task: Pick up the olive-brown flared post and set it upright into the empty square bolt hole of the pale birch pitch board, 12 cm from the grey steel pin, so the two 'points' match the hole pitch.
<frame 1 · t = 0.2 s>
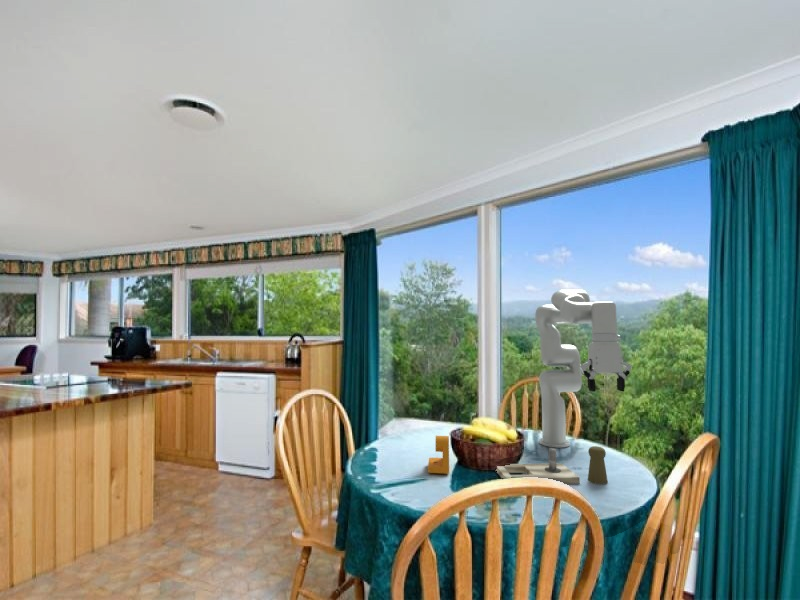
hand: (606, 390, 141), 30 cm above the table, tool pointing down, fingers open, 9 cm apart
pitch board: (535, 476, 146), on the table
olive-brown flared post: (597, 481, 142), on the table
bracket: (438, 470, 152), on the table
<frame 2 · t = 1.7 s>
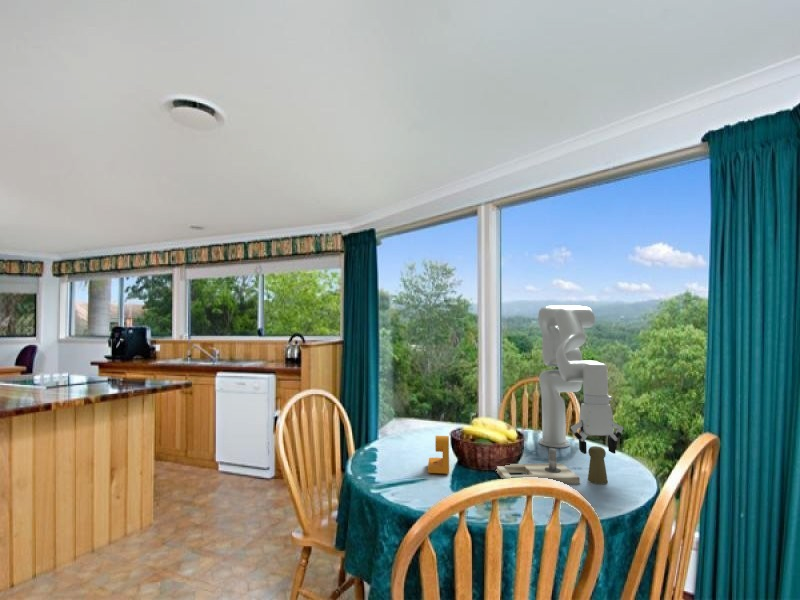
hand: (597, 452, 142), 9 cm above the table, tool pointing down, fingers open, 9 cm apart
nothing on the table moved.
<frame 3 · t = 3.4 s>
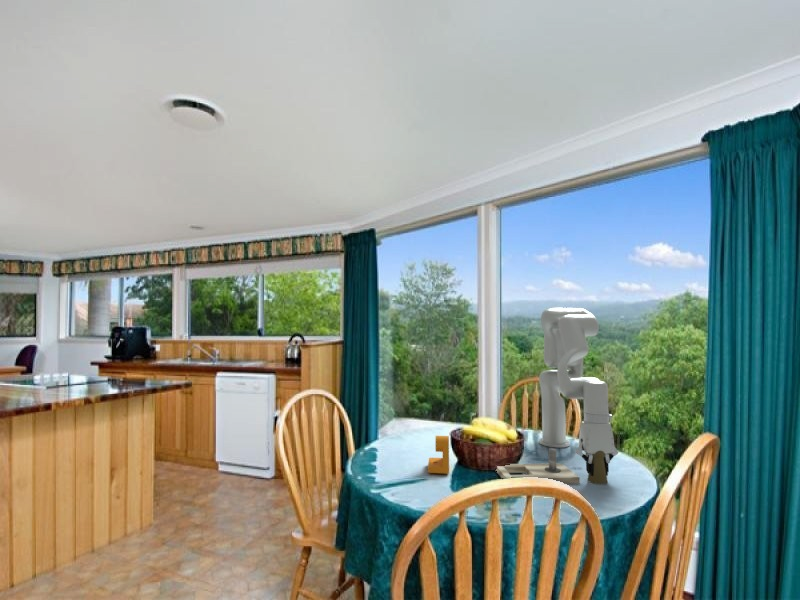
hand: (597, 473, 142), 2 cm above the table, tool pointing down, fingers closed on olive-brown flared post, 4 cm apart
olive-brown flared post: (597, 481, 142), on the table, touching gripper
everything else where it was.
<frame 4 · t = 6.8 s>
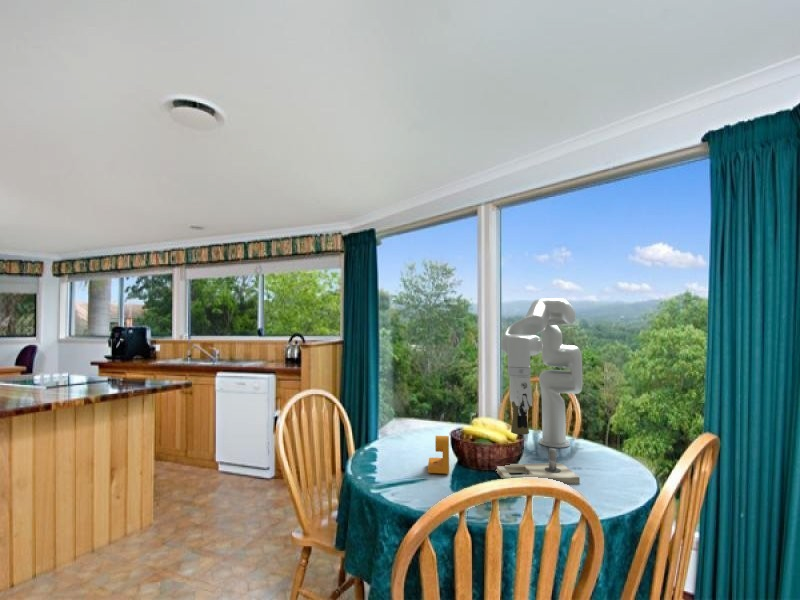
hand: (519, 425, 146), 17 cm above the table, tool pointing down, fingers closed on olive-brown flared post, 4 cm apart
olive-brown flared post: (519, 432, 146), point 15 cm above the table, touching gripper
everything else where it was.
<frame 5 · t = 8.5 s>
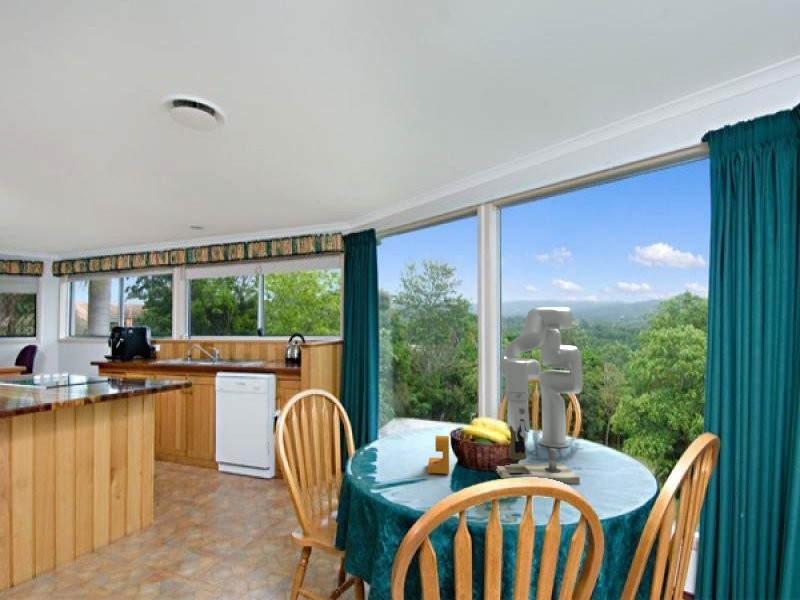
hand: (517, 450, 146), 9 cm above the table, tool pointing down, fingers closed on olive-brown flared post, 4 cm apart
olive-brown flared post: (517, 457, 146), point 6 cm above the table, touching gripper
everything else where it was.
when the fingers open (5 cm above the table, at t = 10.0 s): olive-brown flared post drops 2 cm, resting in pitch board.
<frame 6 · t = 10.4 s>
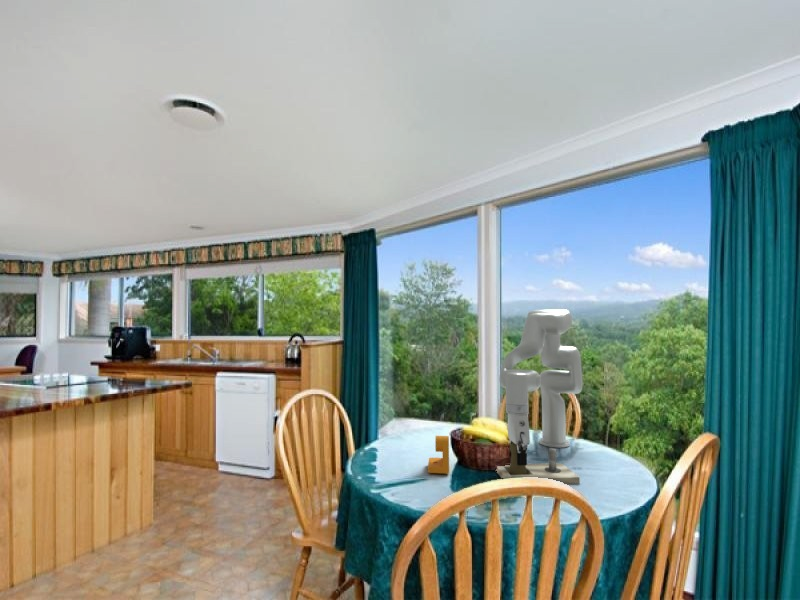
hand: (517, 460, 146), 5 cm above the table, tool pointing down, fingers open, 7 cm apart
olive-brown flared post: (517, 476, 146), resting in pitch board
everything else where it was.
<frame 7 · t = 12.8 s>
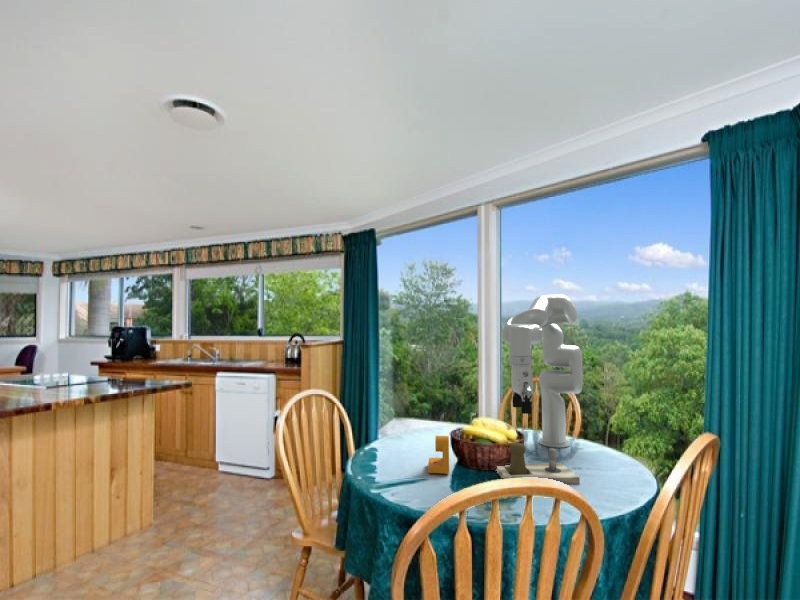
hand: (521, 410, 149), 22 cm above the table, tool pointing down, fingers open, 9 cm apart
nothing on the table moved.
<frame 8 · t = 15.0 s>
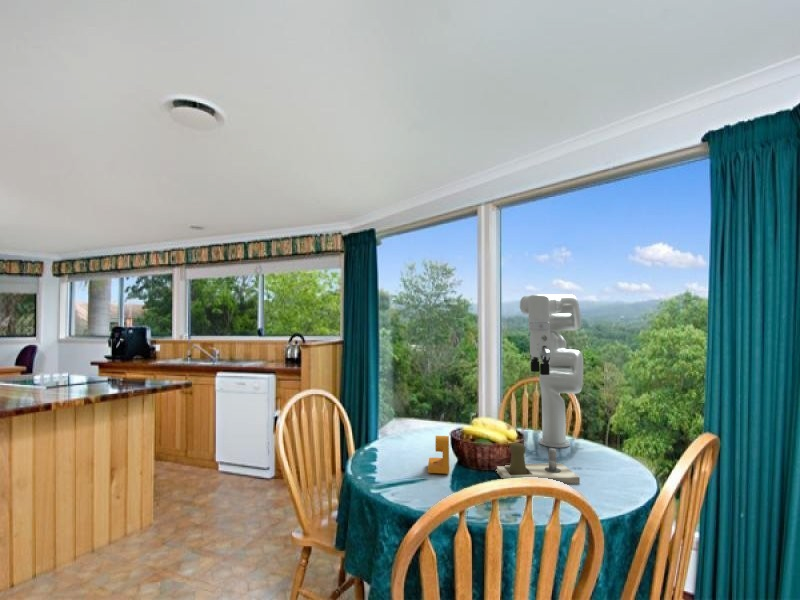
hand: (539, 373, 161), 33 cm above the table, tool pointing down, fingers open, 9 cm apart
nothing on the table moved.
at the end: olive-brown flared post 0.7 cm from the target spot on the pitch board, point 0.0 cm above the pitch board's base; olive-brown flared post tilted 0°; the gripper is holding nothing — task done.
